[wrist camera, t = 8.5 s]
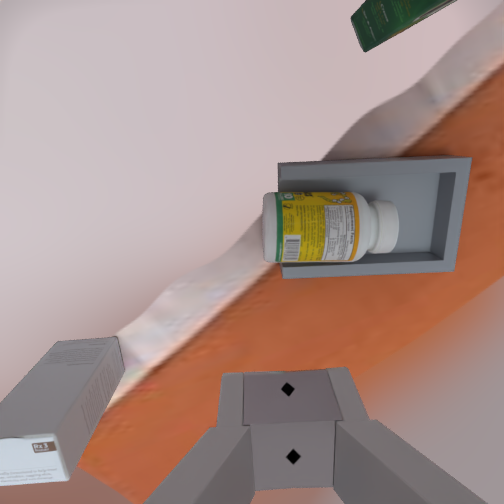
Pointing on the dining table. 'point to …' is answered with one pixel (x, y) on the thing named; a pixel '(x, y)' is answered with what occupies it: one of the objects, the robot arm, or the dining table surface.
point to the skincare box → (57, 410)
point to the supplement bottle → (326, 226)
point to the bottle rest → (407, 204)
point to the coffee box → (390, 18)
